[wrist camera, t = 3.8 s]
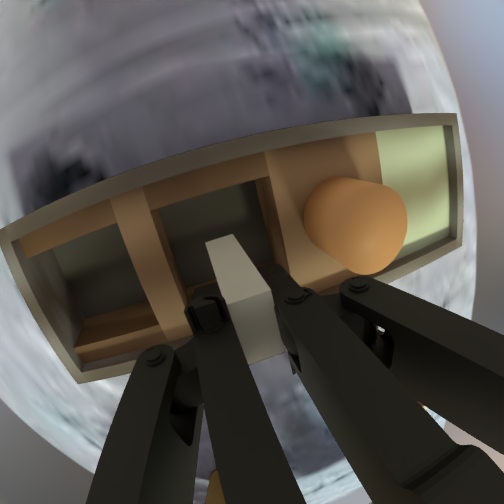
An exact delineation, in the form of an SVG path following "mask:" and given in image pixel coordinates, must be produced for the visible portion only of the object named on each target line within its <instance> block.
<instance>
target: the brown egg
mask: <svg viewBox="0 0 504 504" xmlns="http://www.w3.org/2000/svg"><path fill="white" fill-rule="evenodd" d="M407 225H408V219H407V211H406V207H405V204H404V202H403V200H402V199H401V197H400V196H399V194H398V193H397V192H396V191H395V190H393V189H392V188H390V187H388V186H385V185H381V184H376V183H372V182H367V181H362V180H358V179H353V178H348V177H342V176H337V177H332V178H329V179H326V180H324V181H323V182H321V183H320V184H319V185H318V186H316V188H315V189H314V190H313V191H312V193H311V194H310V196H309V198H308V200H307V202H306V205H305V209H304V227H305V231H306V233H307V235H308V237H309V239H310V240H311V241H312V243H313V244H314V245H316V246H317V247H318V248H320V249H321V250H323V251H324V252H325V253H327V254H328V255H330V256H331V257H332V258H334V259H335V260H337V261H338V262H339V263H341V264H342V265H344V266H345V267H346V268H348V269H349V270H350V271H352V272H354V273H357V274H361V275H369V274H374V273H376V272H379V271H381V270H382V269H384V268H385V267H387V266H388V265H389V264H390V263H391V262H392V261H393V260H394V259H395V257H396V256H397V255H398V253H399V251H400V250H401V248H402V245H403V243H404V240H405V237H406V233H407Z"/></svg>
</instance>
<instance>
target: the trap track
mask: <svg viewBox="0 0 504 504" xmlns="http://www.w3.org/2000/svg"><path fill="white" fill-rule="evenodd" d="M337 176H342V177H348V178H353V179H358V180H362V181H367V182H372V183H376V184H381V185H385V186H388V187H390V188H392V189H393V190H395V191H396V192H397V193H398V194H399V196H400V197H401V199H402V200H403V202H404V204H405V207H406V211H407V219H408V225H407V233H406V237H405V240H404V243H403V245H402V248H401V250H400V251H399V253H398V255H397V256H396V257H395V259H394V260H393V261H392V262H391V263H390V264H389V265H388V266H387V267H385V268H384V269H382V270H381V271H379V272H376V273H374V274H369V275H361V274H357V273H354V272H352V271H350V270H349V269H348V268H346V267H345V266H344V265H342V264H341V263H339V262H338V261H337V260H335V259H334V258H332V257H331V256H330V255H328V254H327V253H325V252H324V251H323V250H321V249H320V248H318V247H317V246H316V245H314V244H313V243H312V241H311V240H310V239H309V237H308V235H307V233H306V231H305V227H304V209H305V205H306V202H307V200H308V198H309V196H310V194H311V193H312V191H313V190H314V189H315V188H316V186H318V185H319V184H320V183H321V182H323V181H324V180H326V179H329V178H332V177H337ZM230 234H233V235H234V237H235V238H236V240H237V241H238V242H239V244H240V245H241V247H242V248H243V250H244V251H245V253H246V254H247V256H248V257H249V259H250V260H251V262H252V263H253V264H254V266H255V267H256V268H257V267H260V266H263V265H266V264H269V263H272V262H273V263H276V264H279V265H281V266H282V267H283V268H284V269H285V270H286V271H287V272H288V273H289V275H290V276H291V277H292V278H293V279H294V280H295V281H296V282H297V283H298V284H299V285H300V287H306V288H310V289H312V290H314V291H315V292H316V293H317V294H318V295H321V296H322V295H330V294H336V293H340V291H339V287H340V284H341V283H342V282H343V281H344V280H346V279H348V278H351V277H355V276H367V277H371V278H373V279H376V280H378V281H381V282H383V283H385V284H388V283H390V282H392V281H394V280H396V279H399V278H401V277H403V276H405V275H407V274H409V273H411V272H413V271H415V270H417V269H419V268H421V267H423V266H425V265H427V264H429V263H431V262H433V261H435V260H437V259H438V258H440V257H442V256H444V255H446V254H448V253H450V252H452V251H453V250H455V249H457V248H459V247H461V246H462V236H463V169H462V155H461V145H460V136H459V128H458V121H457V114H456V113H421V114H398V115H383V116H371V117H360V118H351V119H343V120H335V121H327V122H320V123H314V124H307V125H301V126H295V127H290V128H284V129H279V130H274V131H269V132H264V133H259V134H255V135H250V136H246V137H241V138H237V139H233V140H229V141H225V142H221V143H217V144H213V145H209V146H206V147H202V148H198V149H195V150H191V151H188V152H184V153H181V154H178V155H174V156H171V157H168V158H165V159H162V160H159V161H155V162H152V163H149V164H147V165H144V166H141V167H138V168H135V169H132V170H129V171H127V172H124V173H121V174H119V175H116V176H113V177H111V178H108V179H106V180H103V181H100V182H98V183H96V184H93V185H91V186H88V187H86V188H83V189H81V190H79V191H76V192H74V193H72V194H70V195H67V196H65V197H63V198H61V199H59V200H56V201H54V202H52V203H50V204H48V205H46V206H44V207H42V208H40V209H38V210H36V211H34V212H32V213H30V214H28V215H26V216H24V217H22V218H20V219H18V220H17V221H15V222H13V223H11V224H9V225H7V226H6V227H4V228H2V229H0V247H1V249H2V252H3V254H4V257H5V259H6V262H7V264H8V266H9V269H10V271H11V273H12V275H13V278H14V280H15V282H16V284H17V286H18V288H19V290H20V292H21V294H22V296H23V298H24V300H25V302H26V304H27V306H28V308H29V310H30V311H31V313H32V315H33V317H34V319H35V320H36V322H37V324H38V326H39V327H40V329H41V331H42V332H43V334H44V336H45V337H46V339H47V340H48V342H49V344H50V345H51V347H52V348H53V350H54V351H55V353H56V354H57V356H58V357H59V359H60V360H61V362H62V363H63V364H64V366H65V367H66V369H67V370H68V371H69V373H70V374H71V376H72V377H73V378H74V380H75V381H76V382H77V384H82V383H87V382H92V381H97V380H102V379H107V378H111V377H116V376H120V375H125V374H129V373H131V372H132V370H133V367H134V365H135V363H136V360H137V359H138V357H139V355H140V354H141V353H142V352H144V351H145V350H146V349H148V348H150V347H152V346H155V345H159V344H166V345H169V346H171V347H172V348H173V350H176V349H177V348H179V347H181V346H183V345H184V344H186V343H187V342H188V341H190V340H191V339H192V337H193V332H192V330H191V328H190V326H189V323H188V321H187V319H186V316H185V314H184V309H185V307H186V306H187V304H188V303H189V302H191V301H192V294H193V292H194V290H195V288H198V287H201V286H204V285H208V284H211V283H214V282H217V279H216V275H215V272H214V269H213V266H212V263H211V260H210V257H209V253H208V250H207V247H206V244H205V242H208V241H211V240H214V239H218V238H221V237H224V236H227V235H230Z"/></svg>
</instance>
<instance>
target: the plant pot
mask: <svg viewBox="0 0 504 504" xmlns="http://www.w3.org/2000/svg"><path fill="white" fill-rule="evenodd" d="M205 504H226V503H225V499H224V496H223V492H222V488H221V484H220V480H219V475H218V471H217V470H215V471H214V472H213V473H212V474H211V477H210V481H209V485H208V490H207V495H206V501H205Z"/></svg>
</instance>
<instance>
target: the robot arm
mask: <svg viewBox="0 0 504 504" xmlns="http://www.w3.org/2000/svg"><path fill="white" fill-rule="evenodd" d="M205 244H206V247H207V250H208V253H209V257H210V260H211V263H212V266H213V269H214V272H215V275H216V279H217V282H214V283H211V284H208V285H204V286H201V287H198V288H195V290H194V292H193V294H192V301H191V302H189V303H188V304H187V306H186V307H185V309H184V314H185V316H186V319H187V321H188V323H189V326H190V328H191V330H192V332H193V337H192V339H191V340H190V341H188V342H187V343H186V344H184V345H183V346H181V347H179V348H177V349H176V350H173V348H172V347H171V346H169V345H166V344H159V345H155V346H152V347H150V348H148V349H146V350H145V351H144V352H142V353H141V354H140V355H139V357H138V359H137V360H136V363H135V365H134V367H133V370H132V372H131V375H130V377H129V380H128V382H127V385H126V387H125V390H124V392H123V395H122V398H121V400H120V403H119V405H118V408H117V411H116V413H115V416H114V419H113V421H112V424H111V427H110V430H109V433H108V435H107V438H106V441H105V444H104V447H103V450H102V453H101V456H100V459H99V462H98V465H97V468H96V471H95V474H94V478H93V481H92V484H91V488H90V491H89V494H88V498H87V501H86V504H193V495H194V485H195V476H196V467H197V458H198V449H199V441H200V433H201V424H202V417H203V409H205V414H206V419H207V424H208V430H209V435H210V439H211V444H212V449H213V454H214V458H215V462H216V467H217V471H218V475H219V480H220V484H221V488H222V492H223V496H224V499H225V503H226V504H306V501H305V499H304V497H303V495H302V493H301V491H300V488H299V486H298V484H297V482H296V479H295V477H294V475H293V473H292V470H291V468H290V466H289V464H288V461H287V459H286V457H285V454H284V452H283V450H282V447H281V445H280V443H279V440H278V438H277V435H276V433H275V431H274V428H273V426H272V423H271V421H270V418H269V416H268V414H267V411H266V409H265V406H264V404H263V401H262V399H261V396H260V393H259V391H258V388H257V386H256V383H255V381H254V378H253V375H252V373H251V370H250V368H249V365H250V364H253V363H256V362H259V361H261V360H264V359H267V358H270V357H273V356H275V355H278V354H281V353H283V352H285V348H284V345H285V346H286V348H287V350H288V354H289V358H290V363H291V368H292V372H293V374H296V372H297V374H298V376H299V378H300V379H301V381H302V383H303V385H304V386H305V388H306V390H307V392H308V393H309V395H310V397H311V399H312V400H313V402H314V404H315V406H316V407H317V409H318V411H319V413H320V414H321V416H322V418H323V420H324V421H325V423H326V425H327V426H328V428H329V430H330V432H331V433H332V435H333V437H334V438H335V440H336V442H337V444H338V445H339V447H340V449H341V450H342V452H343V454H344V455H345V457H346V459H347V460H348V462H349V464H350V466H351V467H352V469H353V471H354V472H355V474H356V476H357V477H358V479H359V481H360V482H361V484H362V486H363V487H364V489H365V490H366V492H367V494H368V495H369V497H370V499H371V500H372V502H371V503H369V504H504V473H503V471H501V469H500V468H499V467H498V466H497V465H496V464H495V462H494V461H493V460H492V459H491V458H490V457H489V456H488V455H487V454H486V453H485V452H484V451H483V450H481V449H480V448H479V447H476V446H474V445H459V444H456V443H455V442H454V441H453V440H452V439H451V438H450V437H449V436H448V435H447V434H446V432H445V431H444V430H443V429H442V428H441V427H440V426H439V424H438V423H437V422H436V421H435V420H434V419H433V418H432V417H431V416H430V414H429V413H428V412H427V411H426V410H425V409H424V408H423V407H422V406H421V404H423V405H424V406H426V407H427V408H429V409H430V410H432V411H434V412H435V413H437V414H438V415H440V416H441V417H443V418H444V419H446V420H448V421H449V422H451V423H452V424H454V425H456V426H457V427H459V428H460V429H462V430H463V431H465V432H467V433H468V434H470V435H471V436H473V437H475V438H476V439H478V440H480V441H481V442H483V443H484V444H486V445H488V446H489V447H491V448H493V449H494V450H496V451H498V452H499V453H501V454H503V455H504V335H502V334H500V333H497V332H495V331H493V330H491V329H489V328H487V327H484V326H482V325H480V324H478V323H475V322H473V321H471V320H469V319H467V318H464V317H462V316H460V315H458V314H455V313H453V312H451V311H448V310H446V309H444V308H442V307H439V306H437V305H435V304H432V303H430V302H428V301H425V300H423V299H421V298H418V297H416V296H414V295H411V294H409V293H407V292H404V291H402V290H400V289H397V288H395V287H393V286H390V285H388V284H385V283H383V282H381V281H378V280H376V279H373V278H371V277H367V276H355V277H351V278H348V279H346V280H344V281H343V282H342V283H341V284H340V287H339V291H340V293H336V294H330V295H322V296H321V295H318V294H317V293H316V292H315V291H314V290H312V289H310V288H306V287H300V285H299V284H298V283H297V282H296V281H295V280H294V279H293V278H292V277H291V276H290V275H289V273H288V272H287V271H286V270H285V269H284V268H283V267H282V266H281V265H279V264H276V263H273V262H272V263H269V264H266V265H263V266H260V267H257V268H256V267H255V266H254V264H253V263H252V262H251V260H250V259H249V257H248V256H247V254H246V253H245V251H244V250H243V248H242V247H241V245H240V244H239V242H238V241H237V240H236V238H235V237H234V235H233V234H230V235H227V236H224V237H221V238H218V239H214V240H211V241H208V242H205ZM378 326H379V327H381V328H383V329H385V332H382V331H380V330H378ZM283 343H284V344H283ZM295 370H296V371H295ZM419 402H420V403H421V404H420V403H419ZM203 403H204V406H203Z"/></svg>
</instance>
